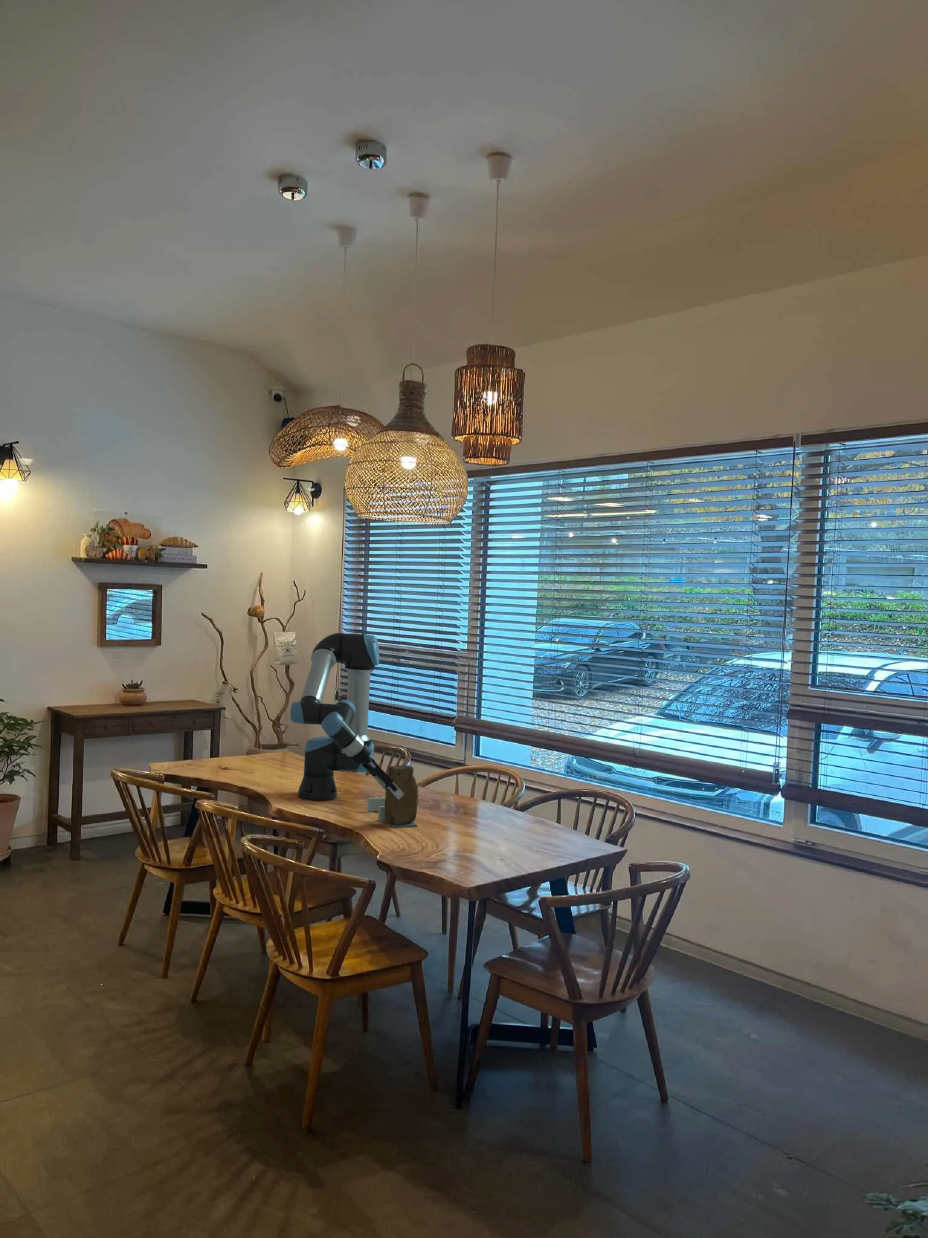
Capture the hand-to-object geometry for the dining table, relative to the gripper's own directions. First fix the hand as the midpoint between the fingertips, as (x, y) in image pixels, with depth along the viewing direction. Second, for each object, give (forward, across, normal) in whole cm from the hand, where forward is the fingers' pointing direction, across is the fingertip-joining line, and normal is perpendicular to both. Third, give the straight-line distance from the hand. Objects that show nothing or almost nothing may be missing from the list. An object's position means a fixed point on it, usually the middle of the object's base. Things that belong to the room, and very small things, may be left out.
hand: (394, 792), depth 312 cm
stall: (+10, -12, -6) cm, 17 cm away
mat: (+10, 0, -6) cm, 12 cm away
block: (+10, 0, -6) cm, 11 cm away
